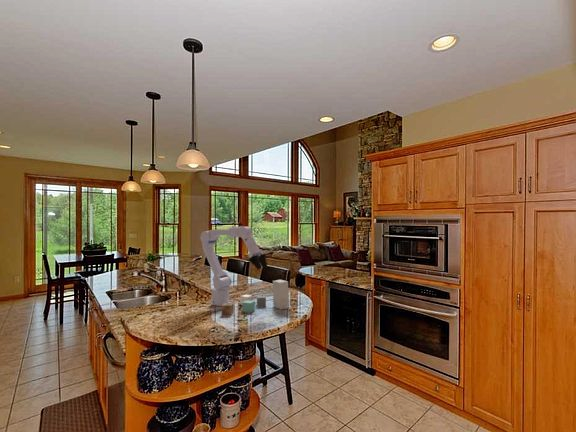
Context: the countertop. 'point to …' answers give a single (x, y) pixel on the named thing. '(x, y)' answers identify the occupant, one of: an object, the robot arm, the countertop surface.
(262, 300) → the charcoal cube
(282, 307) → the skincare box
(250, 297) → the offwhite cube
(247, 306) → the teal cube
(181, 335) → the countertop surface
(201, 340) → the countertop surface
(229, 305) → the walnut cube
